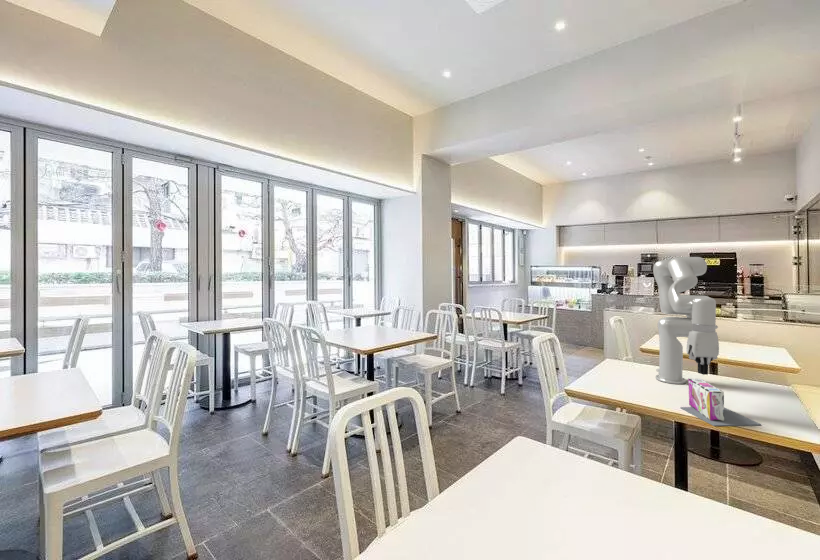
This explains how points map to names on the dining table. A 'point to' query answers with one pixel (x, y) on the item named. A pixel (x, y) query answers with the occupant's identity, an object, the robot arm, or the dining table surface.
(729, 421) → the mat
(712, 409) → the candy bar box
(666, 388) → the dining table surface
